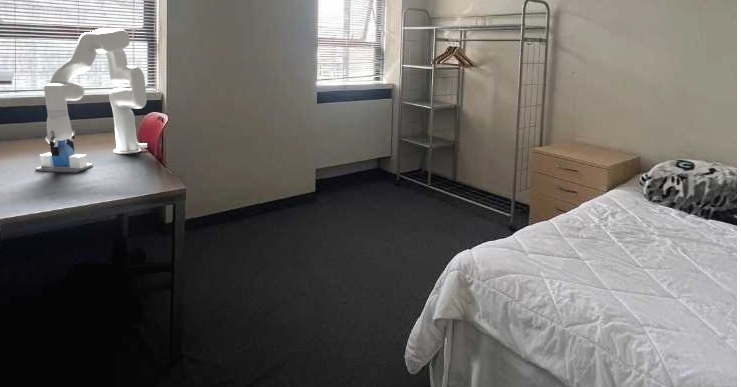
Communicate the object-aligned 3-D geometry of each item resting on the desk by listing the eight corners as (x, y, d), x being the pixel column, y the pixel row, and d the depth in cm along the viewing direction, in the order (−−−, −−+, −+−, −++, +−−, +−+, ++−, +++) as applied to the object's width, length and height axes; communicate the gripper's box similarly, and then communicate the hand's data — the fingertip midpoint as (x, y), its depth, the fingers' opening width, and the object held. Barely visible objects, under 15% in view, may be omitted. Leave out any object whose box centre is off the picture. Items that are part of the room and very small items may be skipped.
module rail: (92, 166, 236) (91, 153, 235) (75, 172, 225) (73, 158, 223) (55, 164, 238) (53, 151, 237) (35, 170, 227) (33, 156, 225)
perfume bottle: (61, 163, 234) (56, 136, 230) (75, 163, 235) (71, 136, 231) (53, 167, 228) (48, 139, 225) (68, 167, 229) (63, 139, 225)
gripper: (63, 111, 234) (68, 149, 239) (34, 116, 218) (40, 157, 222) (79, 111, 233) (84, 150, 238) (51, 116, 217) (57, 158, 221)
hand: (63, 153), depth 230 cm, fingers open, 9 cm apart
